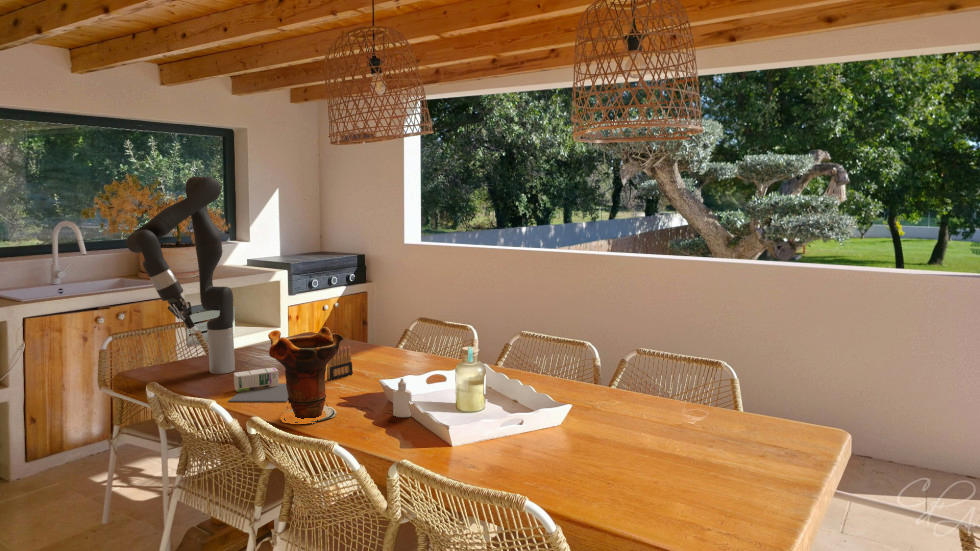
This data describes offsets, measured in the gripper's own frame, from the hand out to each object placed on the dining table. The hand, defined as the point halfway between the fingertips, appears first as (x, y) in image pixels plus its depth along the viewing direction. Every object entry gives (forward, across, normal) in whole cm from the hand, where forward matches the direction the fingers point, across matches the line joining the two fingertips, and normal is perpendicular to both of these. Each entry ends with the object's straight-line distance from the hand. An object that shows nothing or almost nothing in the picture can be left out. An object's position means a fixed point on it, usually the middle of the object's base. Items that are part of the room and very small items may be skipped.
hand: (191, 327), depth 238 cm
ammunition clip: (+41, -24, -29) cm, 55 cm away
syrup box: (+22, -11, +1) cm, 25 cm away
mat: (+29, -20, -3) cm, 36 cm away
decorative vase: (+32, -50, +4) cm, 60 cm away
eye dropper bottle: (+43, -73, -12) cm, 86 cm away
